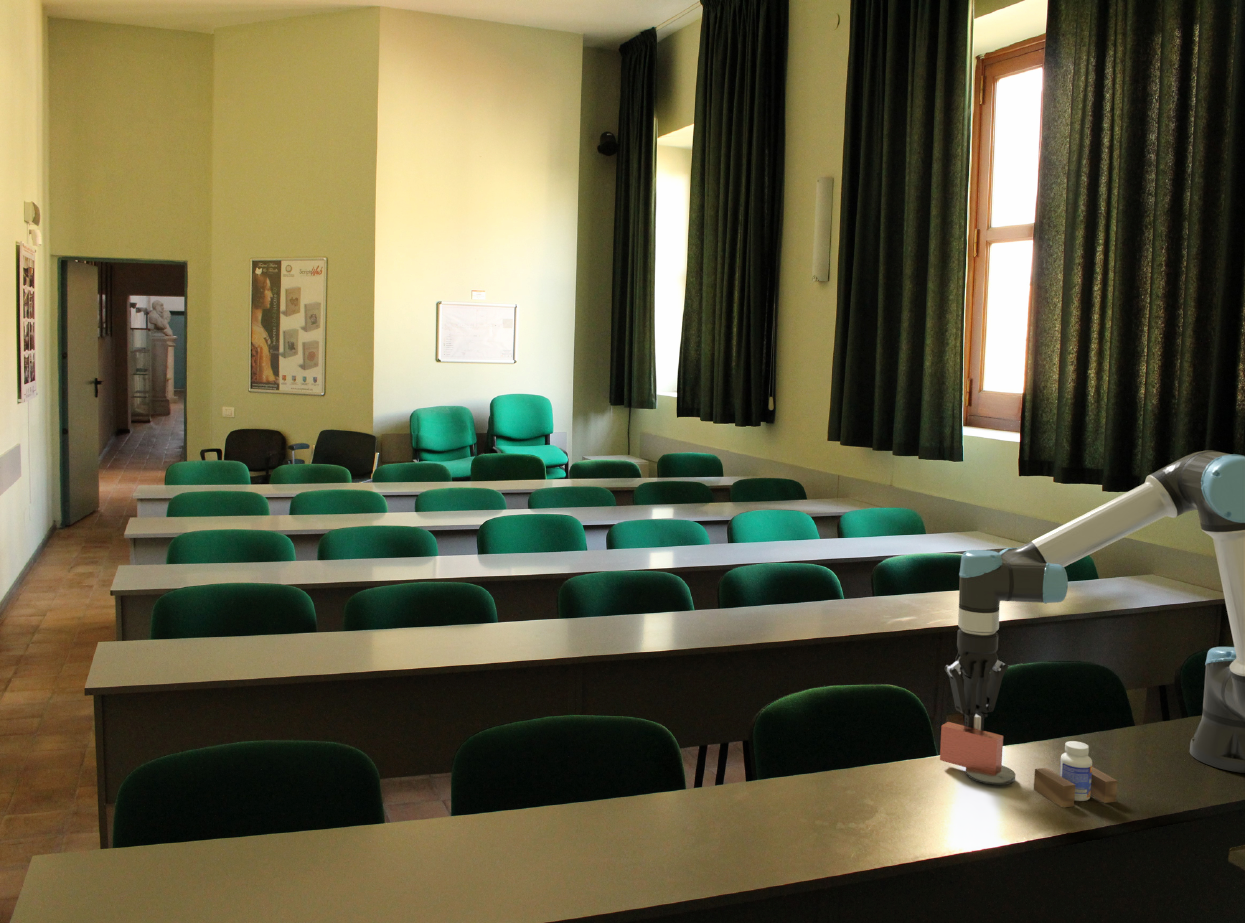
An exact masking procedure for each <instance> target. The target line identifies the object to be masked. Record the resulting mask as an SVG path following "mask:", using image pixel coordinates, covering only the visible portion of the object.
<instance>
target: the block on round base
mask: <svg viewBox="0 0 1245 923" xmlns="http://www.w3.org/2000/svg"><path fill="white" fill-rule="evenodd" d="M940 728H941V731H940V733H941V734H940V752H939V760H940V761H941V762H945V763H949V764H952V765H956V766H960V767H963V768H965V774H966V776H967V777H969V778H970V779H972V780H974V781H976V782H980V783H983V784H987V785H993V786H995V785H996V786H999V785H1000V786H1004V785H1010V784H1012V783H1014V782H1015V781H1016V773H1015V771H1014V770H1012V769H1011V768H1010V767H1007V766H1005V765H1002V764H1003V749H1004V748H1003V746H1004V735H1001V734H998V733H994V732H990V731H986V730H984V729H983V730H979V729H975V728H971V727H967V726H964V725H963V724H958V723H956V722H955V723H954V722H950V721H947V722H945V723H944V724H942V725H941V727H940Z"/></svg>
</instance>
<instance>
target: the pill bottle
mask: <svg viewBox="0 0 1245 923" xmlns="http://www.w3.org/2000/svg"><path fill="white" fill-rule="evenodd" d="M1064 745H1065V746H1064V751H1065V752H1064V753H1062V754H1061V756H1060V763H1059V764H1060V766H1059V776H1061V777H1063V778H1065V779H1066V780H1068V781H1070V782H1071V783H1073V784H1075V799H1074V802H1075V801H1076V802H1085V801H1088V800H1090V799H1091V796H1092V795H1091V779H1092V767H1093V759H1092V758H1091V757H1090V756H1089V751H1090V746H1089V744H1086V743H1084V742H1083V741H1082V742H1081V741H1075V740H1071V741H1069V740H1068V741H1066V742H1065V744H1064Z"/></svg>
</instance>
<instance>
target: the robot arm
mask: <svg viewBox="0 0 1245 923" xmlns="http://www.w3.org/2000/svg"><path fill="white" fill-rule="evenodd" d="M1192 511H1193V512H1194V511H1197V514H1198V520H1199V523H1200V530H1201V531H1202V532H1204V533H1205V534H1206V535H1209V537H1211V538H1212V542H1213V546H1214V553H1215V555H1216V556H1215V557H1216V563H1217V567H1218V572H1219V576H1220V581H1221V586H1222V591H1223V597H1224V601H1225V607H1226V611H1227V612H1226V613H1227V616H1228V622H1229V626H1230V631H1231V636H1232V641H1233V646H1216V647H1212V648H1209V650H1208V651H1207V654H1206V660H1205V664H1204V665H1205V673H1204V689H1203V700H1202V702H1203V703H1202V716H1201V719H1200V721H1199V723H1198V725H1197V726H1196V727H1197V728H1196V730H1195V732H1194V735H1193V736H1192V738H1191V740H1190V745H1189V753H1190V755H1191V757H1193V758H1194V759H1196V760H1197V761H1199V762H1201V763H1203V764H1206V765H1208V766H1211V767H1214V768H1216V769H1221V770H1225V771H1230V772H1233V773H1241V774H1245V455H1242V454H1237V453H1236V454H1235V453H1233V454H1230V453H1226V452H1221V451H1217V450H1203V451H1201V450H1200V451H1196V452H1193V453H1190V454H1188V455H1186V456H1183V457H1181V458H1179V459H1177V460H1176V461H1173V462H1172V463H1170V464H1167V465H1166V466H1164V467H1162V468H1160V469H1158V470H1157V471H1155V472H1152V473H1151V474H1149V475H1147V476H1146V478H1145V481H1144V483H1142V484H1141V485H1139V486H1136V487H1134V488H1133V489H1131V490H1129V491H1127V492H1124V493H1122V494H1121V495H1119V496H1117V497H1115V498H1113V499H1112V500H1109V501H1107V502H1105V503H1104V504H1102V505H1100V506H1097V507H1096V508H1094V509H1092V510H1090V511H1088V512H1086V513H1084V514H1082V515H1080V516H1078V517H1076V518H1074V519H1072V520H1070V521H1068V522H1066V523H1064V524H1062V525H1060V526H1059V527H1056V528H1055V529H1053V530H1051V531H1048V532H1047V533H1045V534H1043V535H1041V536H1039V537H1037V538H1035V539H1033V540H1032V541H1029V542H1027V543H1025V544H1023V545H1021V546H1019V547H1007V548H1005V549H1003V550H1001V551H999V552H998V551H995V550H985V549H971V550H966V551H964V552H963V553H962V554H961V558H960V568H959V573H958V576H959V590H958V617H957V620H958V621H957V626H958V628H959V629H957V636H956V637H957V638H956V639H957V640H956V648H957V651H958V652H957V655H956V656H955V661H954V662H953V663H952V664H950V665H949V664H946V665H945V666H944V671H945V672H946V675H948V679H949V683H950V684H949V685H950V688H951V693H952V698H953V702H954V708H955V710H956V711H957V712H959V713H961V714H962V715H964V725H963V726H967V727H971V728H975V729H979V730H983V731H984V727H985V718H988V716H989V713H992V712H994V710H995V707H996V703H997V700H998V696H999V693H1000V688H1001V685H1002V682H1003V681H1002V680H1003V677H1004V675H1005V674H1006V672H1007V671H1008V669H1009V665H1008V664H1007V663H1004V662H1002V661H1000V660H999V659H998V658H999V657H998V655H997V651H998V650H999V649H998V648H999V633H998V632H997V631H998V630H1000V629H999V628H1000V605H1001V604H1000V603H1001V602H1018V603H1019V602H1020V603H1021V602H1022V603H1043V604H1049V603H1050V604H1052V603H1054V604H1055V603H1062V602H1063V601H1064V600H1065V599H1066V597H1067V594H1068V585H1069V584H1068V582H1069V580H1068V574H1067V571H1066V569H1065V567H1067V566H1069V565H1070V564H1073V563H1076V562H1077V561H1079V560H1081V559H1083V558H1086V557H1087V556H1089V555H1091V554H1093V553H1095V552H1097V551H1099V550H1102V549H1103V548H1106V547H1107V546H1108V545H1109V546H1110V545H1111V544H1113V543H1116V542H1117V541H1119V540H1121V539H1123V538H1126V537H1127V536H1129V535H1132V534H1133V533H1135V532H1137V531H1139V530H1141V529H1143V528H1146V527H1148V526H1149V525H1151V524H1153V523H1155V522H1157V521H1160V520H1161V519H1163V518H1166V517H1168V518H1172V519H1175V518H1176V517H1179V516H1181V515H1183V514H1185V513H1189V512H1192ZM961 674H962V677H961ZM962 678H963V680H962Z"/></svg>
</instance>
